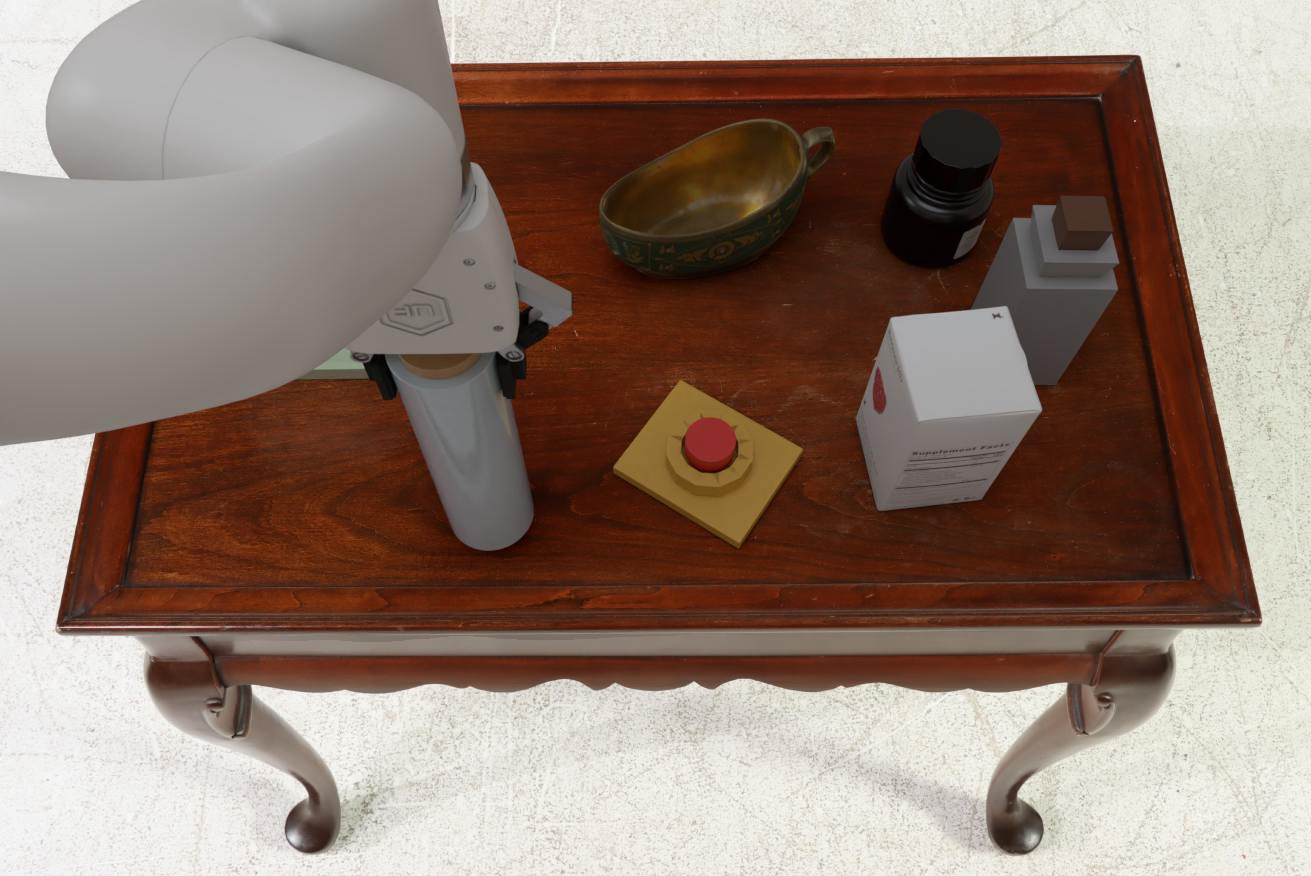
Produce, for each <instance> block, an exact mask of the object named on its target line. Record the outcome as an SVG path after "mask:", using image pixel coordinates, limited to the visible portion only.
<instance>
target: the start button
mask: <svg viewBox="0 0 1311 876" xmlns="http://www.w3.org/2000/svg"><path fill="white" fill-rule="evenodd" d="M735 446H736V435H735V433H734V431H733V429H732V428H731V426H730V425H729V424H728V423H726V422H725V421H723V420H721V419H718V418H712V417H708V418H702V419H699V420H697V421H696V422H694V423H693V424H692V425H691V426H690V427H689V428H688V430H687V432H686V435H685V455H686V457H687V459H688V461H689V462H690V463H691V464H692V465H693V466H694V467H696V468H697V469H700V470H702V471H708V472H713V471H718V470H721V469H723V468H725V467H726V466H727V465H728V464H729V463H730V462H731V461H732V459H733V457H734V453H735Z"/></svg>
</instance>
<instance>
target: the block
mask: <svg viewBox="0 0 1311 876" xmlns="http://www.w3.org/2000/svg"><path fill="white" fill-rule="evenodd" d="M708 417H712V418H718V419H721V420H723V421H725V422H726V423H728V424H729V425H730V426H731V428H732V429H733V431H734V433H735V435H736V446H735V453H734V457H733V459H732V461H731V462H730V463H729V464H728V465H727V466H726V467H725V468H723V469H721V470H718V471H713V472H708V471H702V470H700V469H697V468H696V467H694V466H693V465H692V464H691V463H690V462H689V461H688V459H687V457H686V455H685V435H686V432H687V430H688V428H689V427H690V426H691V425H692V424H693V423H694V422H696V421H697V420H699V419H702V418H708ZM803 453H804V449H803V448H802V447H800V446H799V445H797V444H795V443H793V442H792V441H790V440H788V439H786V438H784V437H783V436H781V435H779V434H777V433H776V432H774V431H772V430H770V429H768V427H766V426H764V425H761V424H760V423H758V422H756V421H755V420H753V419H751V418H749V417H748V416H745V414H742V413H741V412H739V411H737V410H735V409H733V408H731V407H729V406H728V405H726V404H724V403H722V402H720V401H719V400H718V399H716V398H714V397H712V396H710V395H708V394H707V393H705V392H703V391H702V390H700V389H697V387H695V386H692V385H691V384H689V383H687V382H685V381H684V380H682V379H679V381H677V383H676V384H675V386H674V388H673V389H672V390H671V391H670V392H669V394H668V395H667V396H666V398H665V399H663V401H662V403H661V404H660V405H659V406H658V408H657V409H656V410H655V412H654V413H653V414H652V415H651V417H650V418H649V419H648V421H647V422H646V423H645V425H644V426H643V427H642V429H641V430H640V431H639V432H638V434H637V435H636V436H635V438H633V441H631V443H630V444H629V445H628V447H627V448H626V449H625V451H624V452H623V453H622V455H621V456H620V457H619V458H618V460H617V461H616V462H615V464H614V465H613V466H612V469H613V474H614V475H616V476H617V477H619V478H620V479H622V480H624V481H626V482H627V483H629V484H631V485H632V486H633V487H636V489H638V490H641V491H642V492H644V493H646V494H647V495H648V496H651V497H652V498H654V499H656V500H657V501H659V502H660V503H662V504H663V505H665V506H666V507H668V508H670V509H672V510H673V511H675V512H677V513H678V514H680V515H682V516H683V517H685V518H687V519H688V520H690V521H691V522H693V523H695V524H696V525H698V526H700V527H702V529H703V528H704V529H705V530H707V531H708V532H710V533H711V534H713V535H715V536H716V537H718V538H720V539H721V540H723V541H725V542H726V543H728V544H729V545H731V546H733V547H734V548H736V549H740V548H741V546H742V545H743V543H744V542H745V541H746V539H747V538H748V536H749V534H750V533H751V532H752V530H753V528H754V527H755V526H756V524H757V523H758V521H759V520H760V518H761V517H762V515H763V514H764V512H765V511H766V510H767V508H768V507H769V505H770V504H771V502H772V501H773V499H774V498H775V496H776V495H777V493H778V492H779V490H780V489H781V487H782V486H783V485H784V483H785V482H786V480H787V478H788V477H789V475H790V474H791V472H792V471H793V469H794V468H795V467H796V465H797V463H798V462H799V461H800V459H801V458H802V456H803Z"/></svg>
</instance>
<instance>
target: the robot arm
mask: <svg viewBox="0 0 1311 876" xmlns="http://www.w3.org/2000/svg"><path fill="white" fill-rule="evenodd" d="M446 39H447V38H446V34H445V29H444V25H443V19H442V15H441V10H440V3H439V0H139V1H136V2H135V3H133V4H131V5H129V6H127V7H125V8H124V9H122V10H120V11H119V12H117V13H116V14H114V15H112V16H111V17H109V18H107V19H106V20H104V21H103V22H101V24H99V25H97V27H95V28H94V29H93V30H92V31H90V32H89V33H87V34H86V35H85V36H84V37H83V38H82V39H81V40H80V41H79V42H78V43H77V44H76V45H75V46H74V48H73V49H72V50H71V51H70V52H69V54H68V55H67V56H66V57H65V59H64V60H63V62H62V63H61V64H60V66H59V68H58V70H57V72H56V73H55V75H54V77H53V80H52V83H51V85H50V87H49V91H48V95H47V98H46V99H47V100H46V105H45V130H46V135H47V141H48V143H49V146H50V149H51V152H52V154H53V156H54V158H55V160H56V161H57V163H58V165H59V166H60V168H61V169H62V170H63V172H64V173H65V174H66V175H67V177H56V176H45V175H36V174H35V175H34V174H27V173H18V172H12V171H5V170H0V447H5V446H6V447H7V446H11V445H21V444H29V443H38V442H46V441H54V440H62V439H69V438H75V437H82V436H87V435H88V436H89V435H94V434H98V433H100V434H101V433H105V432H111V431H116V430H119V429H124V428H129V427H134V426H139V425H142V424H147V423H151V422H156V421H160V420H165V419H169V418H173V417H179V416H183V415H187V414H191V413H195V412H201V411H204V410H209V409H214V408H217V407H221V406H225V405H228V404H232V403H235V402H239V401H243V400H247V399H250V398H253V397H256V396H258V395H262V394H265V393H267V392H270V391H273V390H275V389H278V388H280V387H282V386H284V385H287V384H289V383H291V382H293V381H295V379H297V378H299V377H301V376H303V375H305V374H307V373H308V372H310V371H311V370H313V369H315V368H316V367H318V366H320V365H321V364H323V363H324V362H326V361H327V360H329V359H330V358H331V357H333V356H334V355H336V354H337V353H338V352H340V351H341V350H342V349H343V348H345V349H347V350H350V351H351V352H350V358H351V359H352V360H354V361H356V362H359V363H363V366H364V368H365V370H366V373H367V375H368V377H369V379H368V380H369V381H370V382H375V383H376V386H377V388H378V391H379V393H380V395H381V398H382V400H383V401H394V399H396V398H397V394H398V390H397V387H396V385H395V382H394V380H393V377H392V375H391V372H390V369H389V367H388V364H387V361H386V358H385V354H462V353H488V352H495V351H497V359H496V366H497V371H498V376H499V380H500V385H501V389H502V393H503V397H506V399H511V400H515V399H516V397H517V381H520V380H521V381H522V380H523V381H525V380H527V373H528V359H527V353H526V351H527V350H528V349H529V348H532V347H533V346H534V345H536V344H537V343H539V342H541V341H543V340H544V339H546V338H547V336H548V337H549V333H550V330H551V329H552V328H556V327H558V326H559V325H561V324H562V323H563V322H565V321H566V320H568V319H569V318H571V317H572V316H573V313H574V294H573V292H571V291H570V290H569V289H566V288H564V287H562V286H560V285H559V284H557V283H554V282H552V281H550V280H549V279H547V278H545V277H543V276H541V275H539V274H538V273H535V272H533V271H531V270H529V269H527V268H526V267H524V266H522V265H520V264H519V260H518V256H517V253H516V249H515V245H514V242H513V238H512V235H511V231H510V228H509V225H508V222H507V219H506V217H505V214H504V211H503V209H502V206H501V204H500V201H499V200H498V199H499V198H498V197H497V195H496V193H495V191H494V189H493V187H492V185H491V182H490V181H489V179H488V177H487V176H486V174H485V172H484V170H483V169H482V167H481V166H480V165H479V164H478V163H476V162H472V161H471V159H470V153H469V148H468V143H467V138H466V134H465V129H464V123H463V119H462V114H461V109H460V108H461V107H460V104H459V98H458V93H457V89H456V83H455V79H454V73H453V69H452V63H451V59H450V53H449V49H448V44H447V40H446ZM519 302H522V303H524V304H525V305H528V307H526V308H525V309H523V310H520V303H519Z"/></svg>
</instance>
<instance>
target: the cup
mask: <svg viewBox="0 0 1311 876" xmlns="http://www.w3.org/2000/svg"><path fill="white" fill-rule="evenodd" d="M819 144H821V145H820V147H819V149H818V150H817V152H816V153H815V154H814V155H813V157H812V158H811V159H810V160H809V152H810V150H811V149H812V148H813V147H814V146H816V145H819ZM835 150H836V139H835V136H834V134H833V128H832V127H829V126H816V127H813V128H810V129H808V130H806V131H804V133H803V134H802V136H800V134H799V133H798V132H797V130H795V128H793V127H792V126H791V125H789V124H788V123H786V122H784V121H781V120H779V119H776V118H775V119H773V118H765V117H762V118H761V117H760V118H751V119H747V120H741V121H737V122H733V123H729V124H727V125H724V126H720V127H718V128H716V129H713V130H711V131H708V132H706V133H704V134H702V135H700V136H698V137H696V138H694V139H692V140H690V141H687V142H686V143H684V144H682V145H680V146H679V147H677V148H674V149H672V150H671V151H668V152H667V153H665V154H663V155H660V156H659V157H657V158H655V159H654V160H652V161H649V162H648V163H646V164H644V165H642V166H640V167H638V168H635V169H634V170H633V171H631V172H629V173H627V174H625V175H624V176H622V177H621V178H620V179H618V180H617V181H615V182H614V183H613V184H612V185H610V187H609V188H607V189H606V191H604V193H603V195H602V197H601V198H600V201H599V205H598V218H599V219H598V221H599V226H600V231H601V234H602V239H603V240H604V242H605V244H606V246H607V247H608V249H609V250H610V251H611V252H612V254H613V255H614V256H615V257H616V258H618V259H619V260H620V261H621V262H623V263H624V264H625V265H627V266H629V267H631V268H633V269H635V270H636V271H638V272H639V273H641V274H643V275H645V276H648V277H650V278H655V279H661V280H662V279H664V280H665V279H666V280H686V279H687V280H688V279H698V278H704V277H710V276H715V275H720V274H723V273H727V272H731V271H734V270H736V269H739V268H742V267H744V266H747V265H749V264H751V263H754V262H755V261H757V260H759V258H760V257H762V256H763V255H764V253H765V252H767V251H769V249H770V248H772V246H773V245H774V244H775V243H776V242H777V241H778V240H779V239H780V238H781V237H782V236H783V234H784V233H785V232H786V231H787V230H788V228H789V227H790V226H791V224H792V222H793V220H794V219H795V217H796V215H797V213H798V211H799V209H800V206H801V204H802V201H803V200H804V198H803V197H804V196H805V191H806V186H807V182H808V181H809V180H811V178H812V177H813V176H815V174H817V173H818V171H819V170H821V169H822V168H823V166H825V165H826V164H827V162H828V161H829V160H830V159H831V157H833V154H834V153H835Z"/></svg>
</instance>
